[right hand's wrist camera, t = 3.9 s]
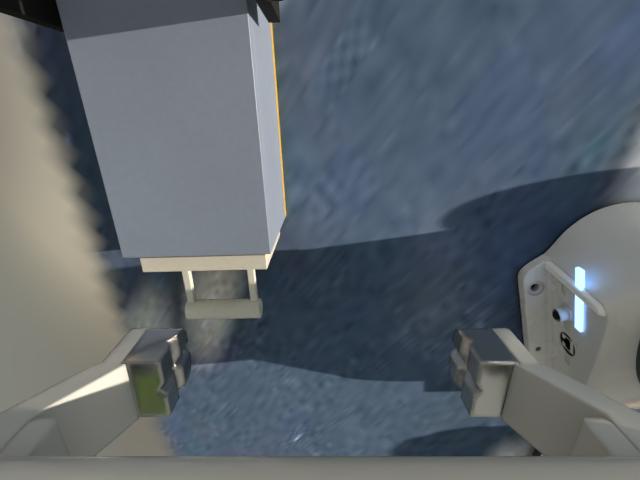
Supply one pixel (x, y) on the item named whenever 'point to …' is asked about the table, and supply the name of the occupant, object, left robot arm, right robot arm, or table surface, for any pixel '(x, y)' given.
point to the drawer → (214, 262)
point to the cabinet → (182, 122)
